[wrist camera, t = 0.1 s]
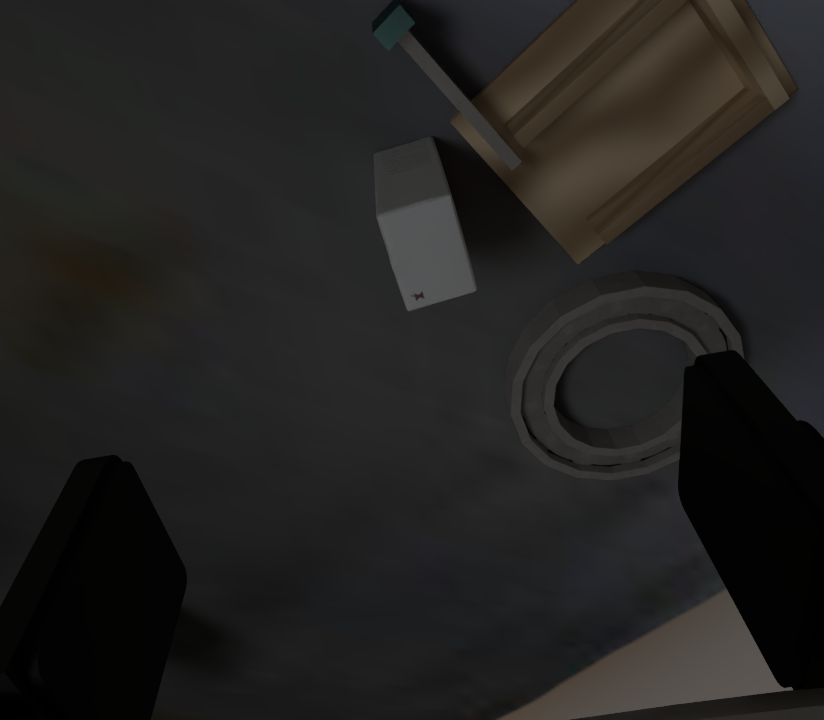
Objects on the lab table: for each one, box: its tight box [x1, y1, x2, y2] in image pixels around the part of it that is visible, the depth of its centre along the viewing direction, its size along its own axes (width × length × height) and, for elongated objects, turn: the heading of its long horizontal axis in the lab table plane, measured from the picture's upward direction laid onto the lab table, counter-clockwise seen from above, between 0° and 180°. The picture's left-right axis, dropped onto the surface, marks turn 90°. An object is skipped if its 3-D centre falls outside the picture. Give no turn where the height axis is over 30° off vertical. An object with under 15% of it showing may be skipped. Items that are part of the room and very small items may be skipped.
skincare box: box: [374, 137, 477, 311], centre depth 42 cm, size 6×4×12 cm
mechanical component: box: [505, 270, 744, 480], centre depth 56 cm, size 18×18×3 cm
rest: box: [450, 0, 798, 264], centre depth 44 cm, size 14×18×4 cm
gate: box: [372, 0, 522, 170], centre depth 41 cm, size 12×2×4 cm, turn 43°
